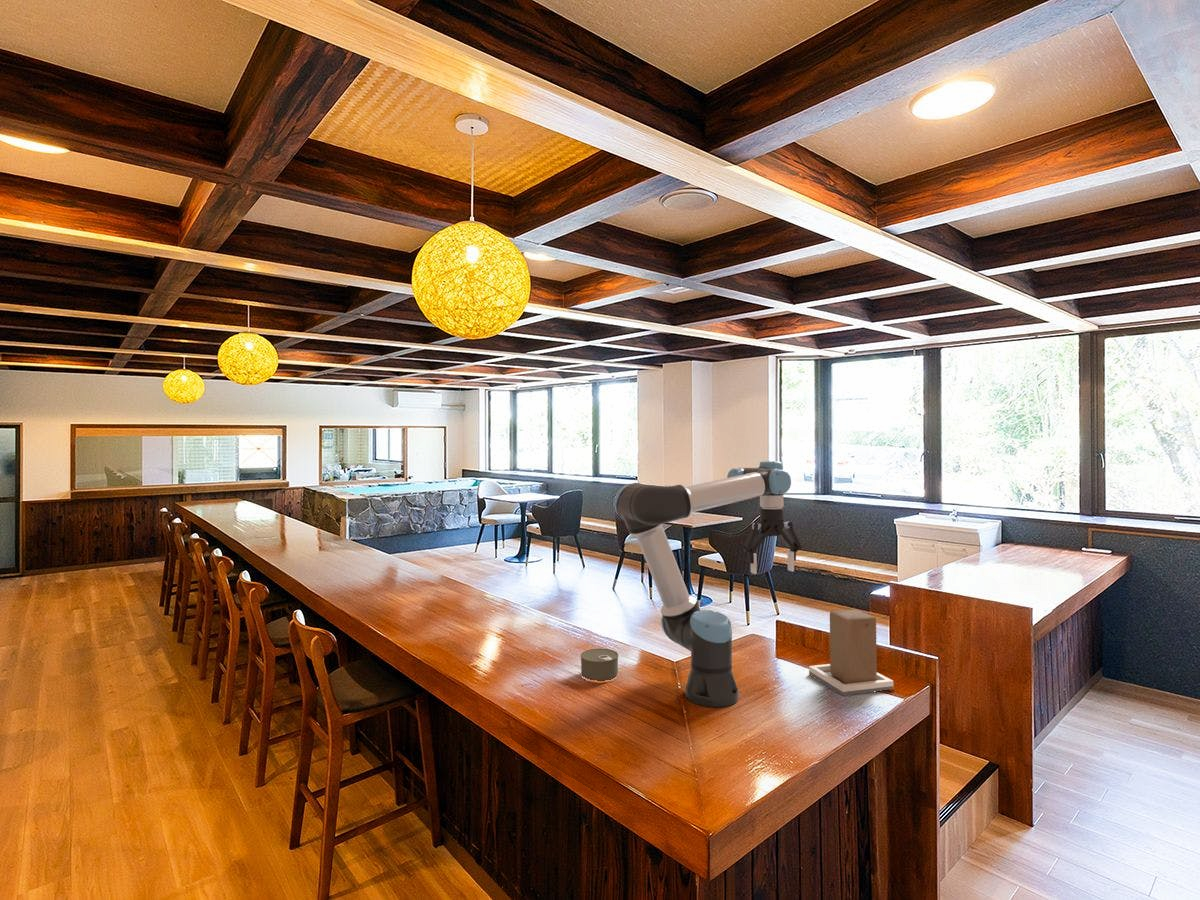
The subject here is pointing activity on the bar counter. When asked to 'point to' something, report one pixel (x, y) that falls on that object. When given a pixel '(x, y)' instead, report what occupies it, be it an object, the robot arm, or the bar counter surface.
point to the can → (599, 664)
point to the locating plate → (849, 689)
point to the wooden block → (853, 646)
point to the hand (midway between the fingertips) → (772, 572)
